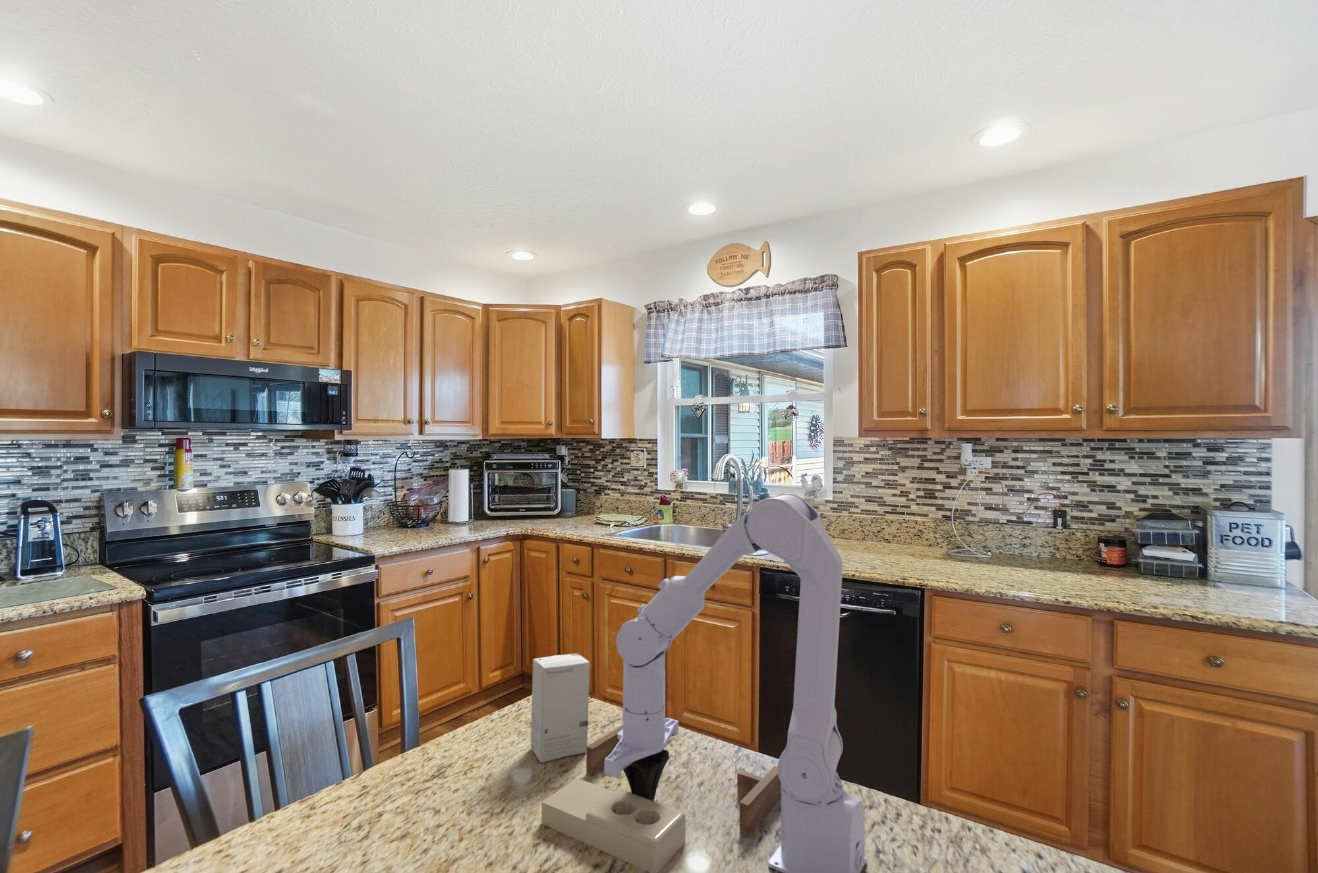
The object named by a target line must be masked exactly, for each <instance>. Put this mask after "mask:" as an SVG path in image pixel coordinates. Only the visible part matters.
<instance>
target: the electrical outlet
mask: <svg viewBox="0 0 1318 873" xmlns="http://www.w3.org/2000/svg"><path fill="white" fill-rule="evenodd" d="M541 824H542V825H544V826H546V827H549V828H550V829H553V830H555V831H557V832H560V833H562V834H564V835H566V836H568V837H571V838H573V839H575V840H578V841H580V842H581V843H584V844H586V845H588V846H590V847H594V848H595V849H598V850H599V851H602V852H604V853H607V854H609V855H610V856H614V857H615V858H617V859H620V860H622V861H625V862H627V863H629V864H631V865H634V866H635V867H638V868H640V869H642V870H644V871H647V872H648V873H659V872H660V871H661V870H662V869H663V868H664V867H665V866H666V864H667V863H668V862H669V861H671V859H672V858H673V857H674V855H675V854H676V853H677V852H678V851H680V849H681V848H682V847H684V845H685V844H686V831H687V830H686V829H687V828H686V825H687V821H686V814H685V812H683V811H681V810H678V809H676V808H672V807H671V806H668V805H664V804H662V803H659V802H657V801H655V800H654V801H652V800H649V799H646V798H644V797H641V796H638V795H636V794H633V793H632V792H630V791H627V790H624V789H622V788H616V789H615V790H614V791H613V790H611V789H607V788H606V787H605V788H604V787H602V786H599V785H597V784H594V783H592V782H589V781H587V780H584V779H580V778H579V777H576V778H574V779H573V780H572V781H570V782H569V783H567V784H565V785H564V786H563V787H561V788H559V790H558V789H557V791H556V792H554V793H553V794H551V795H550V796H548V797H547V798H545V799H544V800H542V801H541Z"/></svg>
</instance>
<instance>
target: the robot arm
mask: <svg viewBox="0 0 1318 873" xmlns="http://www.w3.org/2000/svg"><path fill="white" fill-rule="evenodd" d="M762 549H763V550H764V551H766V552H767V553H769V554H772V555H773V556H775V557H777V558H779V559H781V560H783V561H784V562H785V564H787V565H788V567H790V569H791V570H792V571H793V572H794V573H795V574H796V575H798V577H799V578H800V586H799V587H800V588H799V602H798V603H799V604H798V619H797V620H798V621H797V637H796V651H795V654H796V655H795V669H794V670H795V671H794V684H793V685H794V688H793V690H794V691H793V706H792V712H791V716H790V722H789V726H788V731H787V740H786V741H787V742H786V746H785V748H784V750H783V751H782V752H781V755H780V756H779V759H778V761H777V767H778V768H777V770H778V776H779V779H780V782H781V799H780V844H779V846H778V848H777V849H776V850H775V851H774V853H773V855H772V856H770V858H769V860H768V862H767V863H768V864H767V865H768V866H769V867H770V868H772V869H774V870H777V871H779V872H781V873H861V872H862V871H863V869H864V866H865V865H866V863H867V856H866V855H865V851H866V848H865V847H866V846H865V844H866V843H865V841H866V840H865V839H866V838H865V834H866V833H865V832H866V830H865V829H866V828H865V821H866V819H865V816H866V815H865V807H864V803H863V801H862V800H860V799H858V798H856V797H854V796H852V795H851V794H849V793H848V792H847V791H846V790H844V788H843V783H842V781H841V777H840V776H839V774H838V772H837V768H838V764H839V761H840V759H841V756H842V754H843V752H844V751H843V750H844V749H843V748H844V747H843V739H842V736H841V734H840V732H839V729H838V724H837V718H838V717H837V715H838V714H837V710H836V708H835V704H836V703H835V702H836V701H835V700H836V686H837V670H838V669H837V668H838V652H839V650H838V649H839V639H840V638H839V636H840V633H839V632H840V620H841V618H840V617H841V616H840V615H841V601H842V600H841V599H842V585H843V567H844V564H843V559H842V556H841V554H840V553H839V551H838V549H837V547H836V546H835V544H834V542H833V540H832V538H831V537H830V534H829V533H828V531H827V529H826V528H825V524H824V523H823V521H822V517H821V514H820V513H819V511H818V510H816V509H815V507H813V506H812V505H811V504H810V503H808V502H807V500H805V499H804V498H802V497H801V496H800V495H797V494H795V493H790V492H789V493H781V494H777V495H776V496H774V497H768V498H764V499H761V500H760V501H757V502H755V504H754V505H753V506H752V507H751V509H750V510H749V512H746V513H744V514H743V515H742V516H740V517H739V518H738V519H736V521H735V522H733V524H731V525H730V526H729V527H728V528H727V529H726V530H725V531H724V533H723V534H722V535H720V537H719V538H718V540H717V541H716V542H715V543H714V544H713V545H712V546H711V548H709V550H708V551H707V552H706V553H705V555H703V557H702V558H701V559H700V560H699V562H697V564H696V565H695V566H694V567H693V568H692V569H691V571H689V572H688V574H687V575H673V576H672V577H671V578H665V579H663V580H662V581H661V582H660V583H659V584H658V585H657V587H658V588H659V591H658V592H656V594H655V595H654V596H653V597H652V598H651V600H649V602H648V603H647V604H645V603H643V604H642V605H640V606H639V607H638V608H637V609H636V611H637V614H638V616H637V617H635V618H634V619H630V620H628V621H625V622H623V624H622V625H621V626H620V629H618V632H617V635H616V639H615V646H616V650H617V653H618V655H619V656H620V658H621V659H622V660H623V666H622V668H623V670H622V671H623V672H622V725H623V730H621V731H620V732H618V733H617V738H618V739H620V741H619V742H618V744H617V745H616V747H615V748H614V750H613V751H612V752H611V754H610V755H609V756H608V757H606V758H605V763H604V768H603V769H604V772H603V773H604V775H607V776H609V777H613V778H615V779H618V778H619V777H620V776H621V775H622V771H623V773H624V774H625V777H626V779H627V781H628V782H627V783H628V784H629V788H630V790H631V792H630V793H633V794H636V795H638V796H641V797H644V798H646V799H649V800H652V801H654V802H655V799H656V794H657V789H658V785H659V782H660V778H661V776H662V773H663V771H664V769H665V766H666V765H667V763H668V761H669V760H670V752H669V751H668V750H666V747H667V744H668V743H669V741H670V739H671V737H676V736H678V735H679V720H676V719H673V718H671V717H670V718H669V717H666V653H667V650H668V649H669V648H670V647H671V646H672V643H673V640H675V639H676V638H677V636H679V634H680V633H682V631H683V630H684V629H685V628H686V627H687V626H688V625H689V624H690V623H691V622H692V621H693V620H694V619H695V618H696V617H697V616H698V615H699V614H700V613H701V612H702V611H703V610H704V608H705V598H706V596H705V594H706V592H707V591H708V590H709V589H710V588H711V587H712V586H713V585H714V584H715V583H717V581H719V579H720V578H722V576H723V575H724V574H725V573H727V572H728V571H729V570H730V569H731V568H732V567H733V566H734V565H735V564H736V563H737V562H738V561H739V560H740V559H741V558H743V556H747V555H750V554H755V553H757V552H758V551H761V550H762Z"/></svg>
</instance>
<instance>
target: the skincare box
mask: <svg viewBox="0 0 1318 873" xmlns="http://www.w3.org/2000/svg"><path fill="white" fill-rule="evenodd" d="M531 681H532V684H531V687H532V688H531V718H530V719H531V722H530V723H531V724H530V725H531V726H530V727H531V728H530V749H531V750H532V752H533V753H534V754H535V756H536V759H537V760H538V761H539V763H541V764H542V763H547V762H550V761H553V760H557V759H561V758H565V757H569V756H574V755H581V754H585V753H586V754H587V746H588V735H589V734H588V733H589V732H588V729H589V727H588V726H589V695H590V694H589V692H590V691H589V690H590V661H589V660H587V659H586V658H585V657H584V656H582V655H581V654H579V653H570V654H569V653H568V654H557V655H556V654H555V655H551V656H544V657H537V658H533V659H532V680H531Z"/></svg>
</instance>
